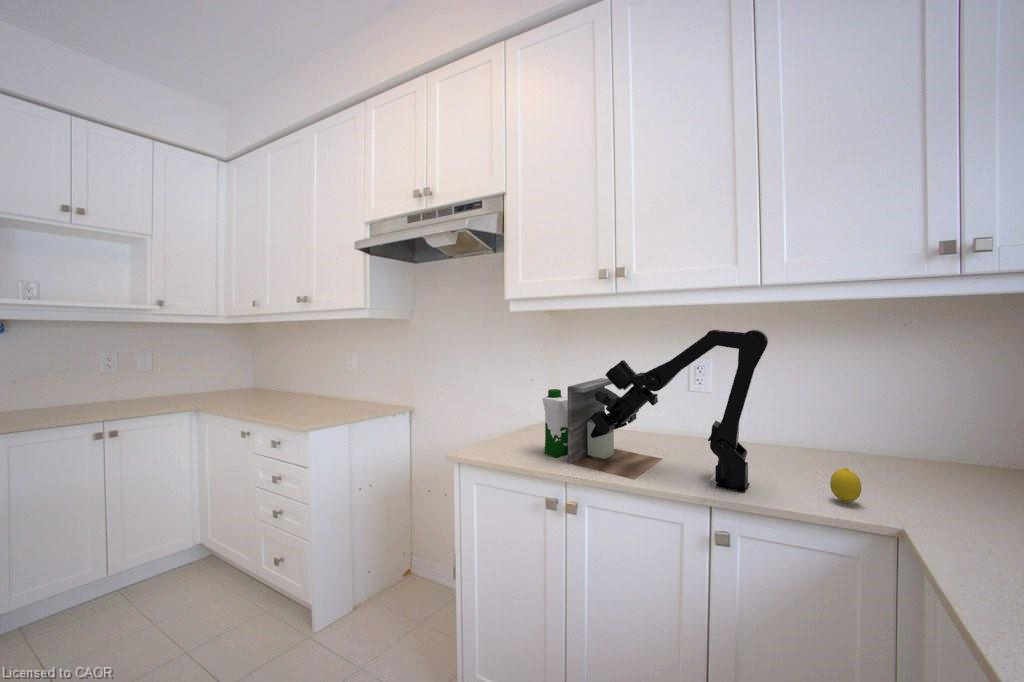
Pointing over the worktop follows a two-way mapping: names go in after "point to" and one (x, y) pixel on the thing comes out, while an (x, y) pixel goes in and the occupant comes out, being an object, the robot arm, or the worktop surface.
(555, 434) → the milk carton
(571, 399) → the dock
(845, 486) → the lemon
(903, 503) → the worktop surface
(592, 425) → the pale green lidded box
